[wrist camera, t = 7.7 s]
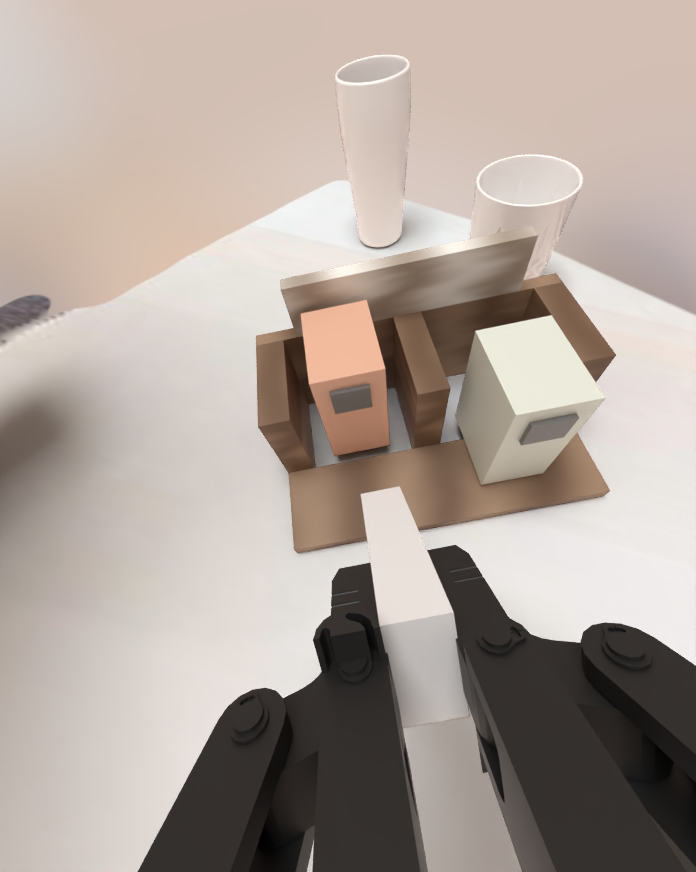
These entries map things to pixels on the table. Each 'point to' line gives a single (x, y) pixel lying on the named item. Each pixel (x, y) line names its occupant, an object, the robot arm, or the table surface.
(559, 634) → the table surface
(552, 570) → the table surface
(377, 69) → the drinking glass
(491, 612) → the robot arm
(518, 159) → the white cup
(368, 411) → the peach rectangular block
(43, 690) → the table surface
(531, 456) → the cream rectangular block
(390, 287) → the wooden rack
